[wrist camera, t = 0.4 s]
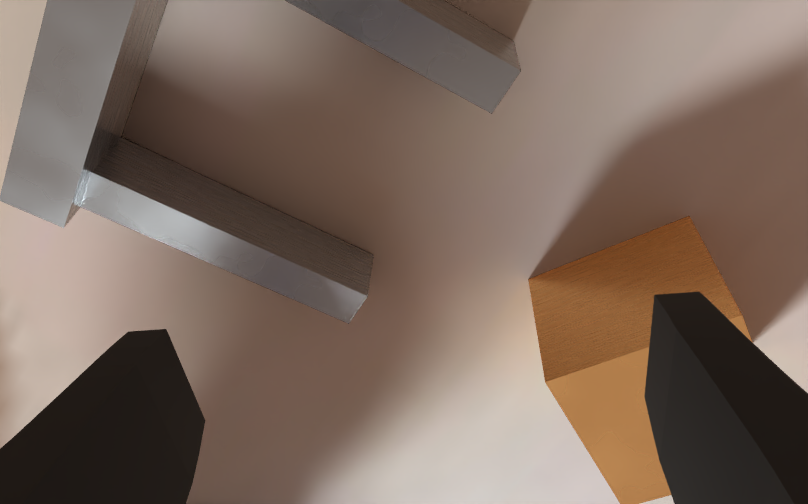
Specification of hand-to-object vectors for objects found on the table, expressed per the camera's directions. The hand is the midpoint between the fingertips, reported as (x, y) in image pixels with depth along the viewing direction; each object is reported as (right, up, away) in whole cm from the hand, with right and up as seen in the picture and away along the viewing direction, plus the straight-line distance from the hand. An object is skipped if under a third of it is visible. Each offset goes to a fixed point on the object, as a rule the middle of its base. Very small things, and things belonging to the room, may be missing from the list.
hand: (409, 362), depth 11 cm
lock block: (+7, 0, +12) cm, 14 cm away
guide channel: (-3, +6, +8) cm, 10 cm away
